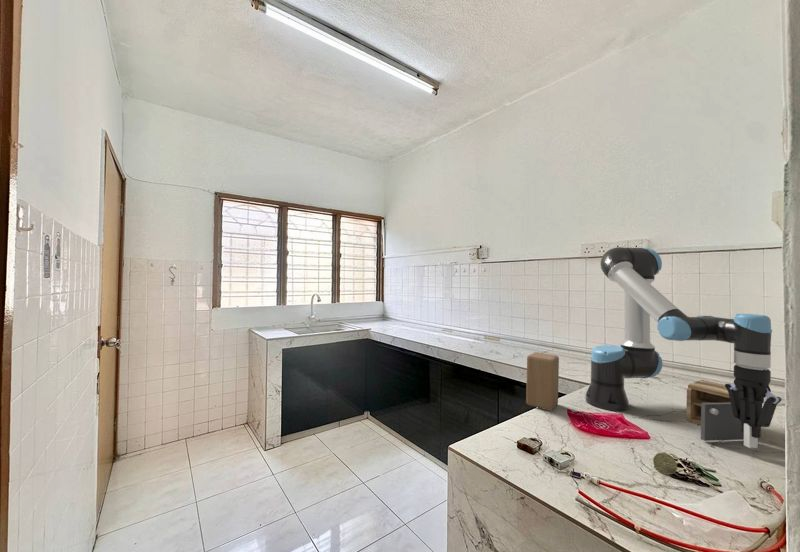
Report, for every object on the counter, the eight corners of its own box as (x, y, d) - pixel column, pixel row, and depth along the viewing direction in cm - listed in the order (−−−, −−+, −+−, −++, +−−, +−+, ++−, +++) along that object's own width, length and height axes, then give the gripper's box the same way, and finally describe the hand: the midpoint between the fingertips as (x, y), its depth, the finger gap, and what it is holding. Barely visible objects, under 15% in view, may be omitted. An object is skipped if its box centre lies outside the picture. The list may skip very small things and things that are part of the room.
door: (756, 441, 105) (756, 405, 105) (709, 443, 103) (710, 406, 103) (745, 437, 108) (746, 402, 108) (700, 438, 106) (701, 402, 106)
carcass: (747, 439, 108) (748, 399, 108) (686, 420, 122) (686, 385, 122) (760, 430, 115) (761, 392, 115) (701, 413, 129) (702, 379, 129)
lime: (679, 479, 85) (679, 459, 85) (656, 474, 87) (657, 455, 87) (672, 469, 90) (673, 451, 90) (651, 465, 91) (651, 447, 91)
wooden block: (533, 398, 141) (534, 351, 141) (558, 404, 135) (559, 355, 135) (525, 405, 133) (526, 355, 133) (551, 411, 127) (552, 359, 127)
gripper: (790, 372, 92) (789, 458, 92) (738, 360, 105) (737, 435, 105) (766, 373, 91) (765, 459, 91) (717, 361, 104) (716, 436, 104)
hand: (750, 446), depth 98 cm, fingers closed
